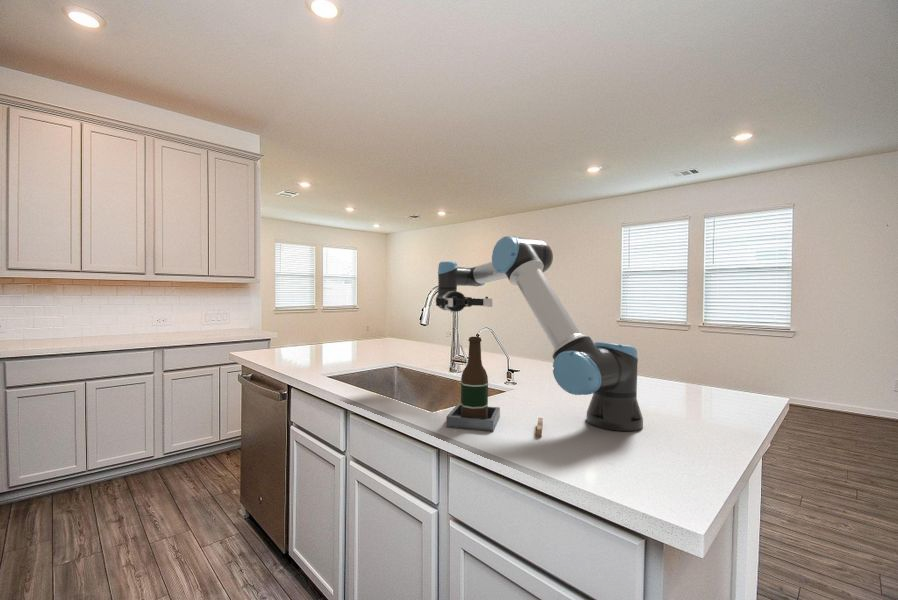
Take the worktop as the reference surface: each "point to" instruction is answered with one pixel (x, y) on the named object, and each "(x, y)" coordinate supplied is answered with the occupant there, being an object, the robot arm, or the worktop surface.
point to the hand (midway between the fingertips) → (471, 302)
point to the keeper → (473, 420)
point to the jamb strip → (539, 427)
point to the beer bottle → (474, 384)
